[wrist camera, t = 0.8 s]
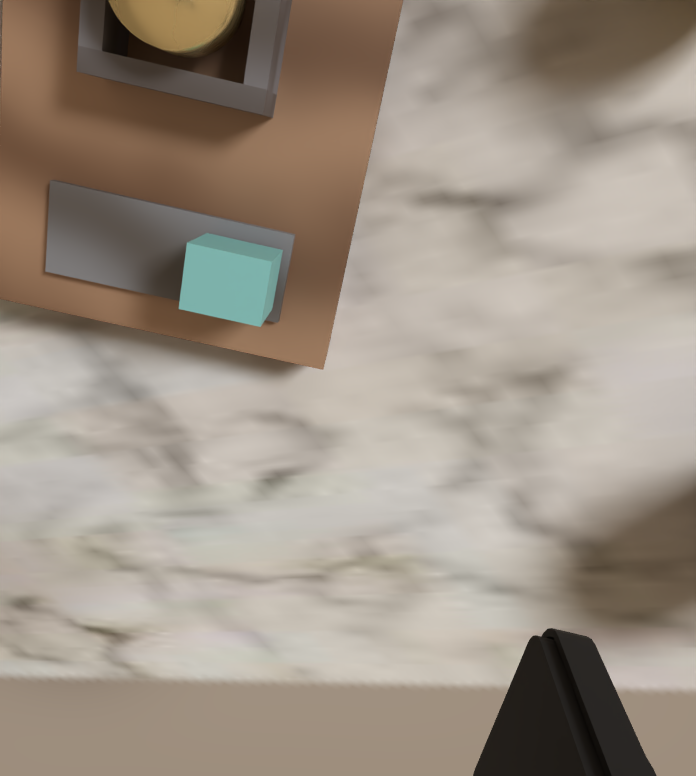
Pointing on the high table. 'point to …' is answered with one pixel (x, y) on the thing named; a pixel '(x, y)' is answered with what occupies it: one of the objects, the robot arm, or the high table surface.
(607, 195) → the high table surface
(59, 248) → the panel
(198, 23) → the brass button
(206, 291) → the teal slider
